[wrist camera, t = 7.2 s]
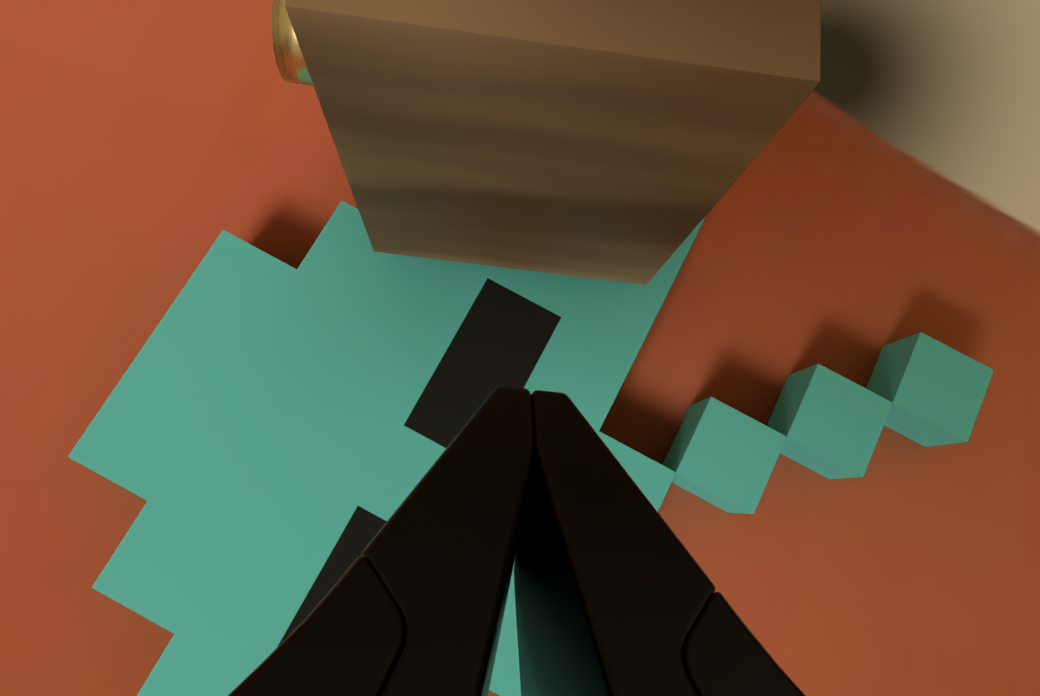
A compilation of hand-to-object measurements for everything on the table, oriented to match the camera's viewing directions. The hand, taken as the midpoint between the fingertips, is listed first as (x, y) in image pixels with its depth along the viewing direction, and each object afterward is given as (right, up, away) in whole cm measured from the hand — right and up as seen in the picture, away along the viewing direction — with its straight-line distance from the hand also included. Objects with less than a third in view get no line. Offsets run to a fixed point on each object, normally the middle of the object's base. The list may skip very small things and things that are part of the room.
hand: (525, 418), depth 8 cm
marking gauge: (0, +7, +10) cm, 12 cm away
